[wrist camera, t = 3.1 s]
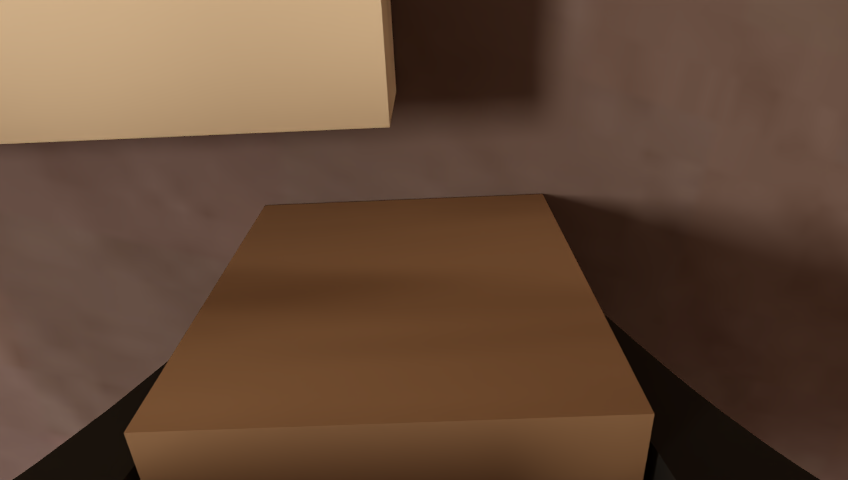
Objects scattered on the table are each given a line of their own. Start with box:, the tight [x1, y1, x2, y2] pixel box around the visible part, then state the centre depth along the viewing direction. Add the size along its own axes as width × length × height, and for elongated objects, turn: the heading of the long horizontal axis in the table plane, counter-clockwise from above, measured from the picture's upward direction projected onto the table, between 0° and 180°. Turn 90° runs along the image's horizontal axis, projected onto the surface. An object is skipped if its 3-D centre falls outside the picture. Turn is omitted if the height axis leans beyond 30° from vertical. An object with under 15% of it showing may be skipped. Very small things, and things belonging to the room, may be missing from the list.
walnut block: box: [124, 194, 654, 480], centre depth 8 cm, size 4×4×5 cm
